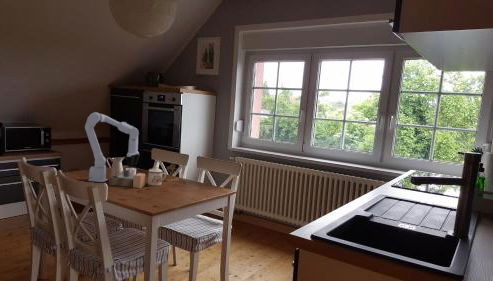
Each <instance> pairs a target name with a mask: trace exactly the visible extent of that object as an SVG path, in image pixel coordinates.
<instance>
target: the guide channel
mask: <svg viewBox="0 0 493 281" xmlns="http://www.w3.org/2000/svg"><path fill="white" fill-rule="evenodd" d="M118 176H119V175H112V177H108V185H109V186H117V187H119V186H120V187H128V188H130V187H131V188H133V180H132V179H122V178H118Z"/></svg>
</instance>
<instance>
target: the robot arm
mask: <svg viewBox="0 0 493 281" xmlns="http://www.w3.org/2000/svg"><path fill="white" fill-rule="evenodd" d="M99 122H100V123H108V124H109V125H112V126H114V127H117V130H119V131H120V132H122V133H125V134H127V135H129V139H128V150H127V154H126V155H125V157H124V158H125V160H126V162H127V167H128V168H132V167H133V166H137V164H138V161H139V158H140V157H141V155H140V152H139V151H138V150H139V135H140V133H139V129H138V128H136V127H135V126H134V125H130V124H129V123H127V122H126V121H121V122H120V121H117V120H116V119H113V118H111V117H110V116H108V115H106V114H103V113H99V112H97V111H94V112H92V113H90V114H89V116H87V119H86V122H85V125H84V130H85V132H86V136H87V138H88V141H89V144H90V147H91V150H92V154H93V158H94V166H90V168H89V170H88V171H89V174H88V182H97V183H98V182H99V183H103V182H106V181H109V178H107V177H106V176H107V165H106V163H107V159H106V157H105V156H104V154H103V152H102V150H101V146H100V144H99V141H98V138H97V135H96V132H95V129H94V127H95V126H96V124H97V123H99Z"/></svg>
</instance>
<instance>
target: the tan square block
mask: <svg viewBox="0 0 493 281" xmlns="http://www.w3.org/2000/svg"><path fill="white" fill-rule="evenodd" d="M132 177H133V187H132V188H133V189H134V188H135V189H142V187H146V186H145V185H146V173H142V172H138V173H136V174H134V175H133V176H132Z"/></svg>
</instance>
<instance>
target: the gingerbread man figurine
mask: <svg viewBox="0 0 493 281" xmlns="http://www.w3.org/2000/svg"><path fill="white" fill-rule="evenodd" d="M166 170H167V171H168V172H169V173H170V174H169V175H168V177H167V178H165V179H164V181H165V182H167V183H168V182H169V183H170V182H179V181H180V179H178V178H177V176H176V174H178V171H179V170H178V169H177V168H176V164H175V163H171V164H170V165H169V166H167V167H166ZM173 175H174V176H173Z"/></svg>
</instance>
